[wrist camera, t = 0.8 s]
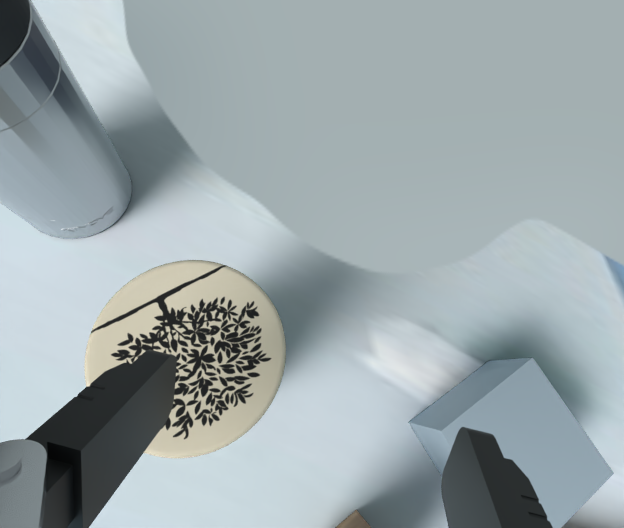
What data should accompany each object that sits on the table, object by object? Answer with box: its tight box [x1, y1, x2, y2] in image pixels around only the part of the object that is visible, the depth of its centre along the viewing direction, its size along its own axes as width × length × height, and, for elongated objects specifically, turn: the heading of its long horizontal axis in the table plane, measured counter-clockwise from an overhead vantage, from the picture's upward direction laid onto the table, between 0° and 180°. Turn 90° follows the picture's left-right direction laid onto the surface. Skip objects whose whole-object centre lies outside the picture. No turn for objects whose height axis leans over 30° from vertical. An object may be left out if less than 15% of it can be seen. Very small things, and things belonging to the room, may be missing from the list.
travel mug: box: [85, 260, 286, 458], centre depth 23 cm, size 8×8×18 cm
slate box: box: [409, 358, 614, 528], centre depth 31 cm, size 10×10×6 cm
